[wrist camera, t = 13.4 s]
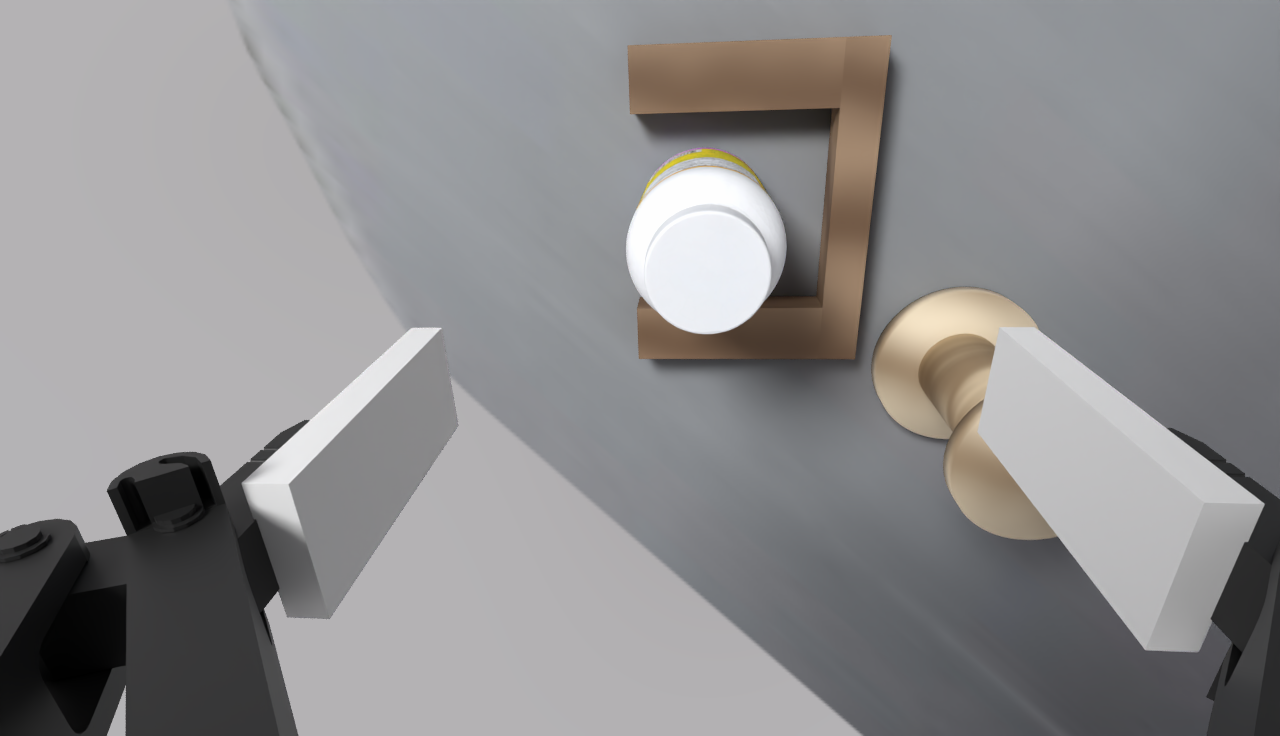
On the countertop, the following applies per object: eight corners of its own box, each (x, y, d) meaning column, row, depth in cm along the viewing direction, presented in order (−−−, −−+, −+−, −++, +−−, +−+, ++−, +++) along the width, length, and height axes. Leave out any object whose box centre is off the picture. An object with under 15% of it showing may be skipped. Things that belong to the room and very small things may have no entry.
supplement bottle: (739, 284, 37) (758, 382, 25) (627, 248, 37) (595, 331, 25) (784, 167, 34) (830, 217, 22) (663, 127, 34) (646, 157, 22)
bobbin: (880, 287, 36) (952, 371, 26) (1050, 286, 36) (1192, 372, 25) (863, 428, 40) (920, 549, 30) (1016, 429, 39) (1127, 555, 29)
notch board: (631, 46, 32) (627, 45, 30) (880, 37, 31) (891, 35, 29) (641, 345, 39) (638, 358, 37) (847, 345, 38) (854, 359, 36)
